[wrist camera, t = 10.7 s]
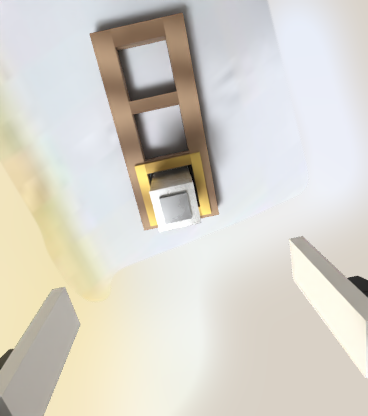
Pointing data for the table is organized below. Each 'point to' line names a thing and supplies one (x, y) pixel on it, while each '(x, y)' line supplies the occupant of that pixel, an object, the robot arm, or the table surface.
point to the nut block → (174, 199)
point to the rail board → (125, 109)
